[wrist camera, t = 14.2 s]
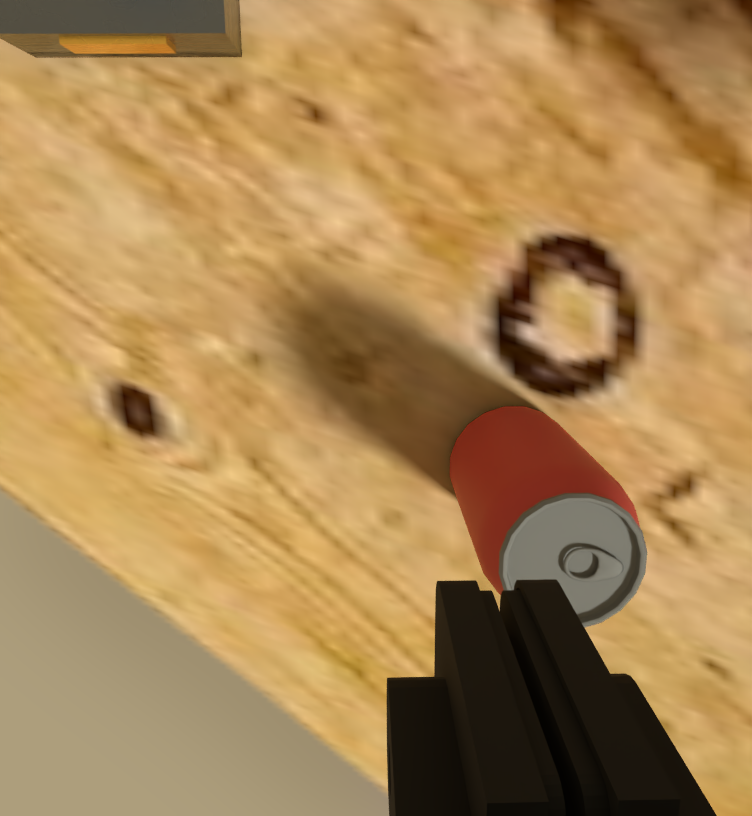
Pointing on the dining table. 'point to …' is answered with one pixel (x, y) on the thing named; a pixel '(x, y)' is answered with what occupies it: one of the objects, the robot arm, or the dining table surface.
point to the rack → (122, 28)
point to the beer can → (546, 511)
